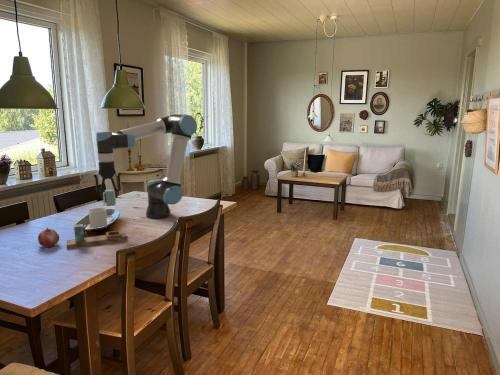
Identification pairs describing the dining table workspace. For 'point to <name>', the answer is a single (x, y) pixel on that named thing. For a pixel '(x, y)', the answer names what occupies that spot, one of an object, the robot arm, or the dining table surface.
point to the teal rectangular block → (109, 197)
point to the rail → (93, 238)
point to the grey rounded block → (97, 217)
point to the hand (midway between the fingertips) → (109, 204)
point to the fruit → (48, 238)
